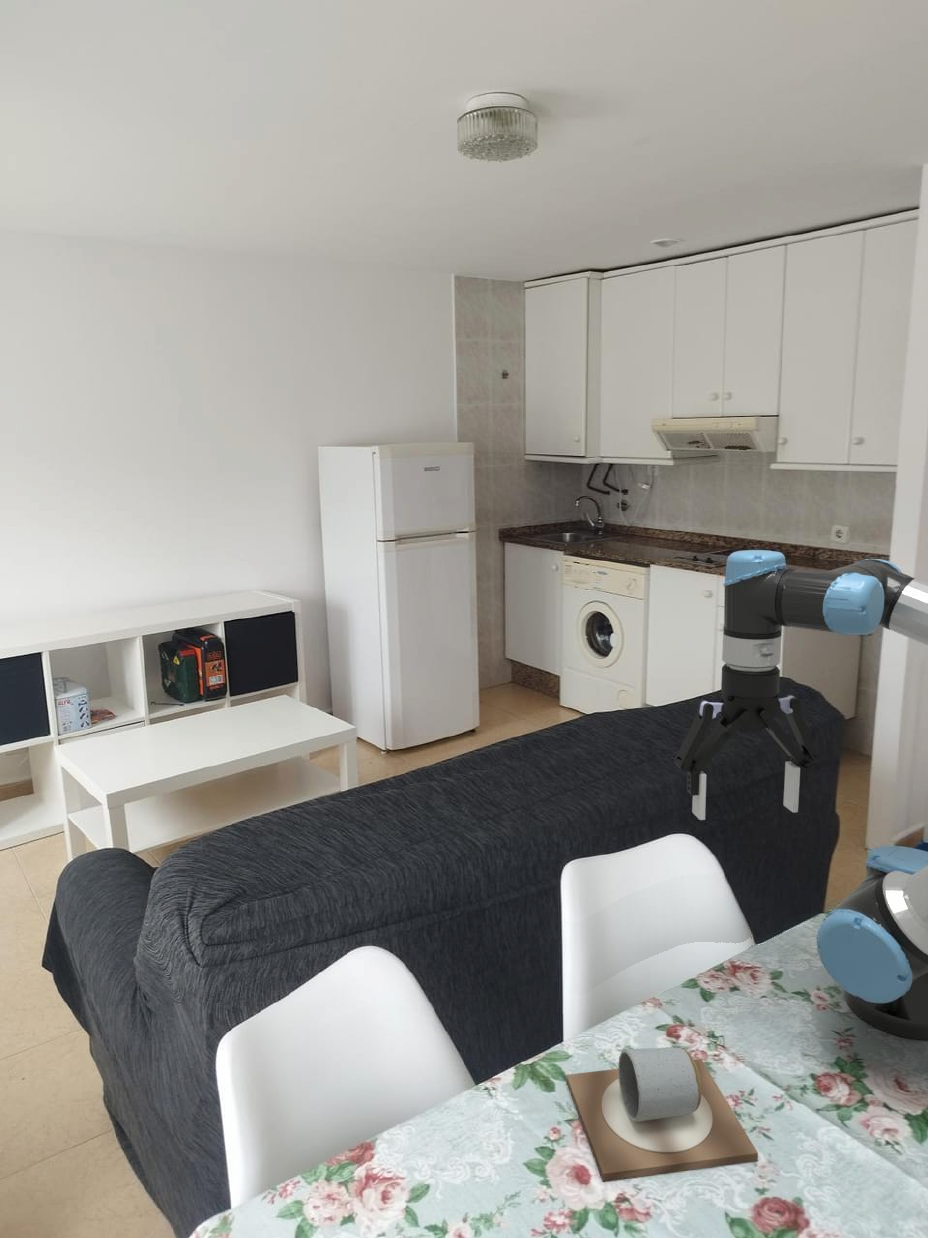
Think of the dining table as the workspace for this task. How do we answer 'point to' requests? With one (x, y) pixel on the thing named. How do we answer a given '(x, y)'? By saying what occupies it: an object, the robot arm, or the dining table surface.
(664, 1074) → the ceramic mug
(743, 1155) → the board
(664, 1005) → the dining table surface
